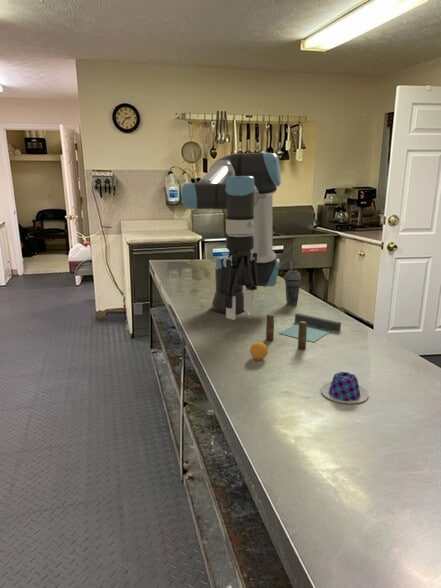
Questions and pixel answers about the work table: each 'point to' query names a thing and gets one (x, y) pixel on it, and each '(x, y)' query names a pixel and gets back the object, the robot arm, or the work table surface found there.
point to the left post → (270, 327)
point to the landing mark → (312, 332)
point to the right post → (302, 335)
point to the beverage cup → (292, 286)
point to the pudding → (344, 388)
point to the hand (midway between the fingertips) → (239, 314)
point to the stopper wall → (318, 322)
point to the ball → (258, 350)
